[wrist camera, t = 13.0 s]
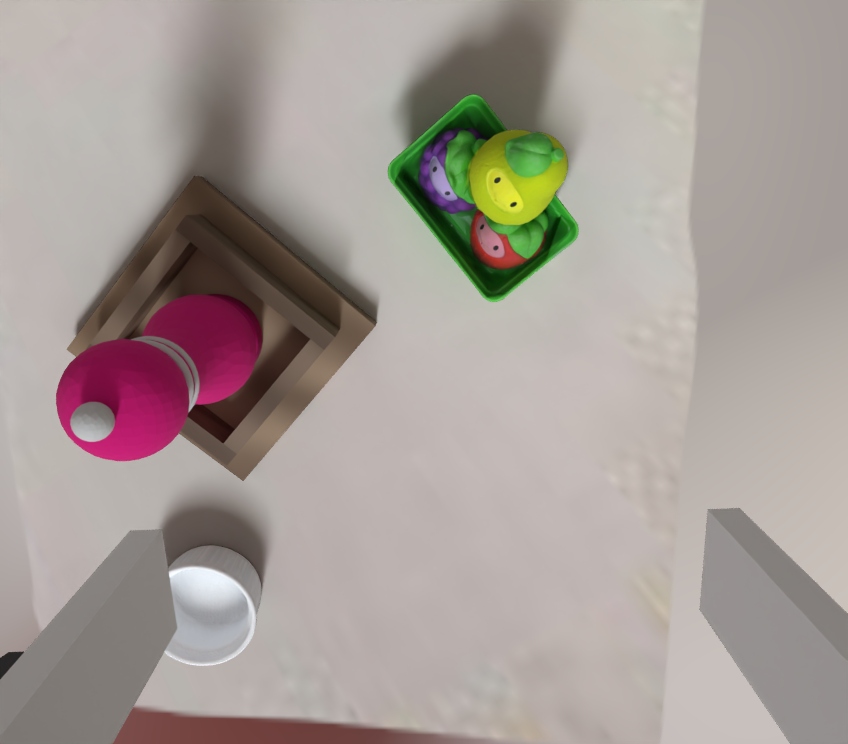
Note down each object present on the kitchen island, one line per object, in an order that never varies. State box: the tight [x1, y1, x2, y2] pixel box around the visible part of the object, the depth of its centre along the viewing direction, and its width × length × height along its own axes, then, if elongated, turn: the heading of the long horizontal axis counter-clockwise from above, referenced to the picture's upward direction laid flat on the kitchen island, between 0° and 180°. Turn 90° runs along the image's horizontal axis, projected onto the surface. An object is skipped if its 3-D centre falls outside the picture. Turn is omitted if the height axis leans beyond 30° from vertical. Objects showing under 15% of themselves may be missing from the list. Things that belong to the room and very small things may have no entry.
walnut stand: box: [67, 176, 377, 481], centre depth 47 cm, size 16×16×4 cm
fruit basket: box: [388, 94, 579, 302], centre depth 41 cm, size 11×9×11 cm
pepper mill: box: [56, 294, 263, 461], centre depth 38 cm, size 7×7×20 cm
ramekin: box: [164, 545, 261, 666], centre depth 53 cm, size 9×9×4 cm
